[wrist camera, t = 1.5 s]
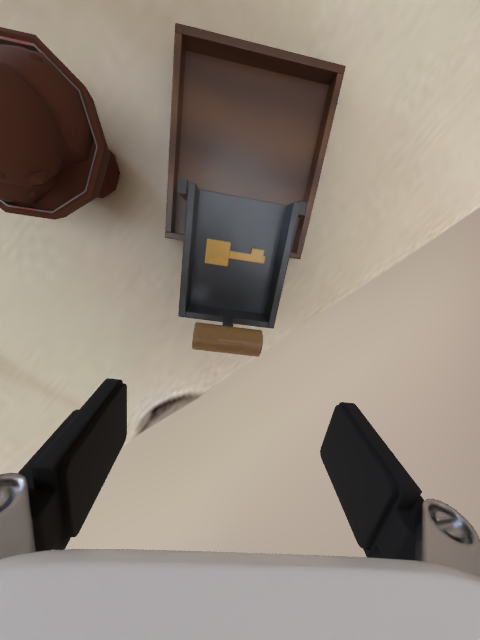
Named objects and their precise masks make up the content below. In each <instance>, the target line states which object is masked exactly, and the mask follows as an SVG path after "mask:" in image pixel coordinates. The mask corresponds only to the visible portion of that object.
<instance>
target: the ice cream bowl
mask: <svg viewBox="0 0 480 640" xmlns="http://www.w3.org/2000/svg"><path fill="white" fill-rule="evenodd" d="M119 176H120V172H119V168H118V165H117V162H116V158H115V155H114V154H113V153H112V152H111V151H110V150H109V149H108V147H107V143H106V140H105V137H104V134H103V130H102V127H101V124H100V121H99V117H98V114H97V111H96V108H95V104H94V101H93V99H92V97H91V96H90V94H89V92H88V90H87V89H86V87H85V86H84V85H83V84H82V82H81V81H80V80H79V79H78V78H77V77H76V76H75V75H74V74H73V73H72V72H71V71H70V70H69V69H68V68H67V67H66V66H65V65H64V64H63V63H62V62H61V61H60V60H59V59H58V58H57V57H56V56H55V55H54V54H53V53H52V52H51V51H50V50H49V49H48V48H47V47H46V46H45V45H44V44H43V42H42V41H41V40H40V39H39V38H38V37H37V36H36V35H33V34H29V33H24V32H20V31H15V30H11V29H6V28H2V27H0V208H1V209H2V210H4V211H5V212H8V213H15V214H22V215H28V216H35V217H42V218H48V219H59V218H63V217H66V216H68V215H69V214H71V213H73V212H74V211H76V210H77V209H79V208H80V207H82V206H84V205H85V204H87V203H88V202H90V201H92V200H93V199H95V198H96V197H99V198H103V197H105V196H107V195H108V194H110V193H111V192H113V191H115V190H116V186H117V183H118V179H119Z"/></svg>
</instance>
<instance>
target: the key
mask: <svg viewBox="0 0 480 640" xmlns="http://www.w3.org/2000/svg"><path fill="white" fill-rule="evenodd" d="M230 246H231V242H226V241H220V240H214V239H207V244H206V254H205V263H209V264H215V265H222V266H228V261H229V258H230V259H236V260H242V261H249V262H255V263H262V264H264V262H265V256H264V250H262V249H255V248H252V249H251V254H248V253H242V252H236V251H230Z"/></svg>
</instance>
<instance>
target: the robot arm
mask: <svg viewBox="0 0 480 640" xmlns="http://www.w3.org/2000/svg"><path fill="white" fill-rule="evenodd" d="M126 435H127V385H126V384H123V382H122V380H117V379H106V380H105V381H104V382H103V383H102V384H101V385H100V387H99V388H98V389H97V390H96V391H95V392H94V394H93V395H92V396H91V397H90V398H89V399H88V401H87V402H86V403H85V404H84V405H83V406H82V407H81V409H80V410H75V411H73V412H72V413H71V414H70V415H69V417H68V418H67V419H66V420H65V421H64V422H63V423H62V424H61V425H60V427H59V428H58V429H57V430H56V431H55V432H54V433H53V434H52V436H51V437H50V438H49V439H48V440H47V441H46V442H45V443H44V445H43V446H42V447H41V448H40V449H39V450H38V451H37V452H36V454H35V455H34V456H33V457H32V458H31V459H30V460H29V461H28V462H27V464H26V465H25V466H24V467H23V468H22V469H21V470H20V471H19V473H18V474H17V473H7V474H1V475H0V640H480V539H479V536H478V534H477V532H476V531H475V530H474V528H473V526H472V525H471V524H470V523H469V522H468V521H467V520H466V519H465V518H464V517H463V516H462V515H461V514H460V513H459V512H458V511H456V510H455V509H453V508H452V507H451V506H449V505H448V504H445V503H443V502H441V501H439V500H435V499H427V500H425V501H424V500H423V498H422V497H421V496H420V494H421V493H422V491H421V490H420V488H419V487H418V486H417V484H416V483H415V482H414V481H413V479H412V478H411V477H410V475H409V474H408V473H407V471H406V470H405V469H404V467H403V466H402V465H401V464H400V462H399V461H398V460H397V458H396V457H395V456H394V454H393V453H392V452H391V451H390V450H389V448H388V447H387V445H386V444H385V443H384V441H383V440H382V439H381V438H380V436H379V435H378V434H377V432H376V431H375V429H374V428H373V427H372V426H371V424H370V423H369V422H368V421H367V419H366V418H365V416H364V415H363V414H362V413H361V411H360V410H359V409H358V407H357V406H356V405H355V404H353V403H344V402H341V403H340V404H339V405H337V406H336V407H335V409H334V412H333V415H332V418H331V421H330V424H329V427H328V429H327V432H326V435H325V438H324V441H323V444H322V447H321V451H320V453H321V458H322V461H323V463H324V465H325V468H326V470H327V472H328V475H329V477H330V479H331V482H332V484H333V486H334V489H335V491H336V494H337V496H338V498H339V501H340V503H341V505H342V507H343V510H344V512H345V515H346V517H347V519H348V522H349V524H350V526H351V529H352V531H353V533H354V536H355V538H356V540H357V543H358V544H359V546H360V547H361V548H363V549H364V551H365V554H366V556H367V557H342V556H318V555H291V554H264V553H233V552H202V551H166V550H129V549H127V550H124V549H121V550H120V549H71V550H69V549H68V550H64V549H65V548H66V546H67V544H68V542H69V540H70V538H71V537H75V536H77V534H78V533H79V531H80V529H81V527H82V525H83V523H84V521H85V519H86V517H87V515H88V513H89V511H90V509H91V508H92V505H93V504H94V502H95V499H96V498H97V496H98V494H99V492H100V490H101V487H102V486H103V484H104V482H105V480H106V478H107V476H108V474H109V472H110V470H111V468H112V466H113V464H114V462H115V460H116V458H117V456H118V454H119V452H120V450H121V448H122V446H123V444H124V442H125V439H126Z"/></svg>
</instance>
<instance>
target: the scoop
mask: <svg viewBox="0 0 480 640" xmlns="http://www.w3.org/2000/svg"><path fill="white" fill-rule="evenodd" d="M300 206H301V203H299V202H293V203H291V204H289V205H282V204H277V203H271V202H266V201H261V200H255V199H250V198H244V197H239V196H233V195H228V194H223V193H217V192H212V191H206V190H201V189H199V188H198V186H197V185H196V183H192V182H188V192H187V206H186V219H185V233H184V247H183V260H182V274H181V288H180V301H179V315H178V316H179V317H187V318H195V319H202V320H210V321H218V322H223V326H221V325H213V324H205V323H196V324H195V328H194V333H193V342H192V349H196V350H205V351H213V352H222V353H231V354H240V355H248V356H257V357H258V356H259V355H260V353H261V350H262V343H263V334H262V331H261V330H253V329H245V328H237V327H233V323H234V324H241V325H249V326H257V327H265V328H267V327H268V328H274V324H275V320H276V315H277V310H278V306H279V301H280V297H281V292H282V288H283V283H284V279H285V274H286V269H287V265H288V260H289V256H290V251H291V247H292V242H293V238H294V233H295V228H296V224H297V219H298V215H299V210H300ZM207 239H214V240H220V241H226V242H231V246H230V251H236V252H242V253H248V254H251V249H252V248H255V249H262V250H264V256H265V262H264V264H262V263H255V262H249V261H242V260H236V259H230V258H229V261H228V266H222V265H215V264H209V263H205V254H206V244H207Z"/></svg>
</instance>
